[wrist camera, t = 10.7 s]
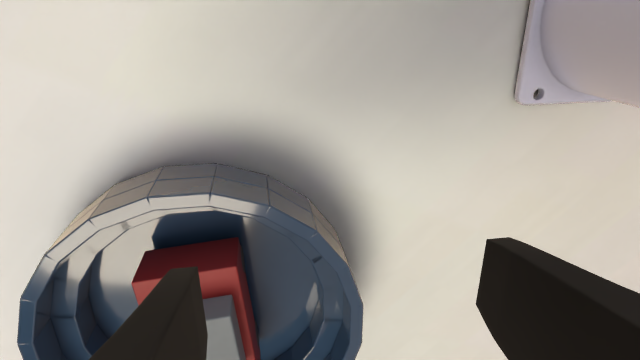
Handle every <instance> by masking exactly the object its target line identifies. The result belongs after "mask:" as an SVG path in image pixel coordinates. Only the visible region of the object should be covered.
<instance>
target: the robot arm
mask: <svg viewBox="0 0 640 360" xmlns="http://www.w3.org/2000/svg"><path fill="white" fill-rule="evenodd" d="M537 89H538V90H539V93H538V95H537V96H536V97H535V98H534V95H533V94H534V92H535V91H536V90H537ZM515 100H516V101H517V102H518V103H520V104H522V105H541V104H562V103H583V102H604V101H616V102H619V103H623V104H627V105H631V106H635V107H639V108H640V0H530V6H529V12H528V18H527V24H526V30H525V35H524V41H523V47H522V53H521V59H520V65H519V70H518V76H517V82H516V88H515ZM476 305H477V307H478V309H479V311H480V313H481V315H482V317H483V319H484V321H485V323H486V325H487V327H488V329H489V331H490V332H491V334H492V336H493V338H494V340H495V341H496V343H497V344H498V346H499V347H500V349H501V350H502V351H503V353H504V354H505V356H506V357H507V359H508V360H640V294H639V293H637V292H635V291H632V290H630V289H627V288H625V287H622V286H620V285H618V284H615V283H613V282H611V281H609V280H606V279H604V278H602V277H599V276H597V275H595V274H593V273H590V272H588V271H586V270H584V269H582V268H579V267H577V266H575V265H573V264H571V263H568V262H566V261H564V260H562V259H560V258H557V257H555V256H553V255H551V254H549V253H546V252H544V251H542V250H540V249H537V248H535V247H533V246H531V245H528V244H526V243H523V242H521V241H518V240H515V239H512V238H509V237H507V238H497V239H487V241H486V247H485V253H484V259H483V265H482V271H481V277H480V283H479V289H478V295H477V301H476ZM207 341H208V332H207V326H206V319H205V312H204V306H203V299H202V292H201V286H200V279H199V272H198V266H196V267H185V268H174V269H170V270H169V271H168V272H167V273H166V274H165V276H164V277H163V278H162V279H161V280H160V281H159V283H158V284H157V285H156V286H155V287H154V288H153V290H152V291H151V292H150V293H149V294H148V296H147V297H146V298H145V299H144V300H143V301H142V303H141V304H140V305H139V306H138V307H137V308H136V310H135V311H134V312H133V313H132V314H131V315H130V316H129V317H128V318H127V320H126V321H125V322H124V323H123V324H122V325H121V326H120V327H119V328H118V330H117V331H116V332H115V333H114V334H113V335H112V336H111V337H110V338H109V339H108V340H107V341H106V342H105V343H104V344H103V345H102V346H101V347H100V348H99V349H98V350H97V351H96V352H95V353H94V354H93V355H92V357H91V358H90V359H89V360H206V356H207Z"/></svg>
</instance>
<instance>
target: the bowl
mask: <svg viewBox="0 0 640 360" xmlns="http://www.w3.org/2000/svg"><path fill="white" fill-rule="evenodd" d="M235 237H238V238H239V242H240V245H241V246H242V249H243V255H244V262H245V273H246V278H247V284H248V289H249V294H250V299H251V305H252V310H253V315H254V320H255V321H256V323H257V328H258V336H259V346H260V359H261V360H355V358H356V356H357V353H358V351H359V349H360V346H361V343H362V326H363V302H362V300H361V297H360V294H359V292H358V289H357V286H356V284H355V281H354V278H353V275H352V273H351V270H350V267H349V265H348V262H347V259H346V257H345V254H344V251H343V249H342V246H341V243H340V241H339V238H338V235H337V233H336V231H335V229H334V228H333V226H332V225H331V224H330V223H329V222H328V221H327V220H326V218H325V217H324V216H323V215H322V214H321V213H320V212H319V210H318V209H317V208H316V207H315V206H314V205H313V204H312V202H311V201H310V200H309V199H307V197H305V196H303V195H302V194H300V193H298V192H296V191H295V190H293V189H291V188H289V187H288V186H286V185H284V184H283V183H281V182H279V181H277V180H276V179H274V178H272V177H270V176H269V175H267V176H266V175H265V174H261V173H257V172H252V171H248V170H243V169H239V168H235V167H230V166H226V165H222V164H217V163H211V164H195V165H179V166H165V167H161V168H158V169H155V170H153V171H150V172H147V173H145V174H142V175H139V176H136V177H134V178H131V179H128V180H126V181H123V182H120V183H118V184H115V185H114V186H112V187H111V188H110V189H109V190H108V191H106V192H105V193H104V194H103V195H101V196H100V197H99V198H98V199H96V200H95V201H94V202H93V203H92V204H90V205H89V206H88V207H87V208H85V209H84V210H83V211H82V212H80V213H79V214H78V215H77V216H76V217H75V219H74V220H73V221H72V222H71V223H70V224H69V226H68V227H67V228H66V229H65V230H64V232H63V233H62V234H61V235H60V236H59V238H58V239H57V240H56V241H55V242H54V244H53V245H52V246H51V247H50V248H49V250H48V251H47V252H46V253H45V254H44V256H43V258H42V259H41V261H40V263H39V265H38V266H37V268H36V270H35V272H34V274H33V275H32V277H31V279H30V281H29V283H28V284H27V286H26V288H25V290H24V292H23V293H22V295H21V298H20V309H19V323H18V337H17V343H18V347H19V350H20V352H21V355H22V358H23V360H89V359H90V358H91V357H92V355H93V354H94V353H95V352H96V351H97V350H98V349H99V348H100V347H101V346H102V345H103V344H104V343H105V342H106V341H107V340H108V339H109V338H110V337H111V336H112V335H113V334H114V333H115V332H116V331H117V330H118V328H119V327H120V326H121V325H122V324H123V323H124V322H125V321H126V320H127V318H128V317H129V316H130V315H131V314H132V313H133V312H134V311H135V310H136V308H137V307H138V306H139V305H138V302H137V299H136V296H135V293H134V290H133V287H132V284H131V283H132V280H133V278H134V276H135V273H136V271H137V269H138V266H139V264H140V262H141V260H142V257H143V255H144V253H145V251H149V250H156V249H162V248H169V247H176V246H182V245H189V244H195V243H202V242H209V241H215V240H222V239H228V238H235Z"/></svg>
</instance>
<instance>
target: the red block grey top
mask: <svg viewBox="0 0 640 360" xmlns="http://www.w3.org/2000/svg"><path fill="white" fill-rule="evenodd" d="M196 266H198V272H199V279H200V286H201V292H202V299H203V306H204V312H205V319H206V326H207V332H208V341H207V356H206V360H261V359H260V346H259V336H258V328H257V323H256V321H255V320H254V315H253V310H252V305H251V299H250V294H249V289H248V284H247V278H246V273H245V262H244V255H243V249H242V246H241V245H240V242H239V238H238V237H235V238H228V239H222V240H215V241H209V242H202V243H195V244H189V245H182V246H176V247H169V248H162V249H156V250H149V251H145V253H144V255H143V257H142V260H141V262H140V264H139V266H138V269H137V271H136V273H135V276H134V278H133V280H132V283H131V284H132V287H133V290H134V293H135V296H136V299H137V302H138V305H140V304H141V303H142V301H143V300H144V299H145V298H146V297H147V296H148V294H149V293H150V292H151V291H152V290H153V288H154V287H155V286H156V285H157V284H158V283H159V281H160V280H161V279H162V278H163V277H164V276H165V274H166V273H167V272H168V271H169V270H170V269H174V268H185V267H196Z"/></svg>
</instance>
